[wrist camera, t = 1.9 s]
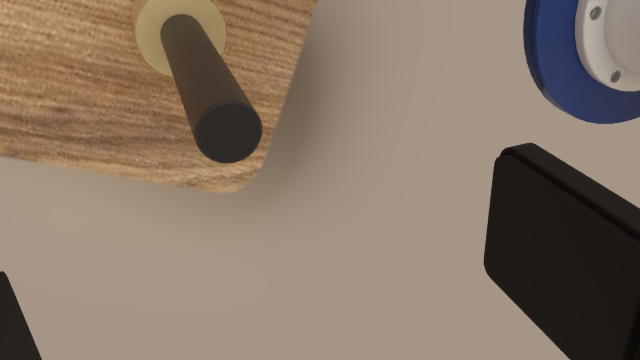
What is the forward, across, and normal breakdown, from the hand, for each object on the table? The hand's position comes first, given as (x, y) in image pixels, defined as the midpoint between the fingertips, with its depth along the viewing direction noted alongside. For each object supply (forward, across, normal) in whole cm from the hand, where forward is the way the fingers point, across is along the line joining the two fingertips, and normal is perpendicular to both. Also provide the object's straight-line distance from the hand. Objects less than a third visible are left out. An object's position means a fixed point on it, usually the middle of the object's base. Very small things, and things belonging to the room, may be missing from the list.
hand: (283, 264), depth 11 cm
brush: (+23, -1, 0) cm, 23 cm away
